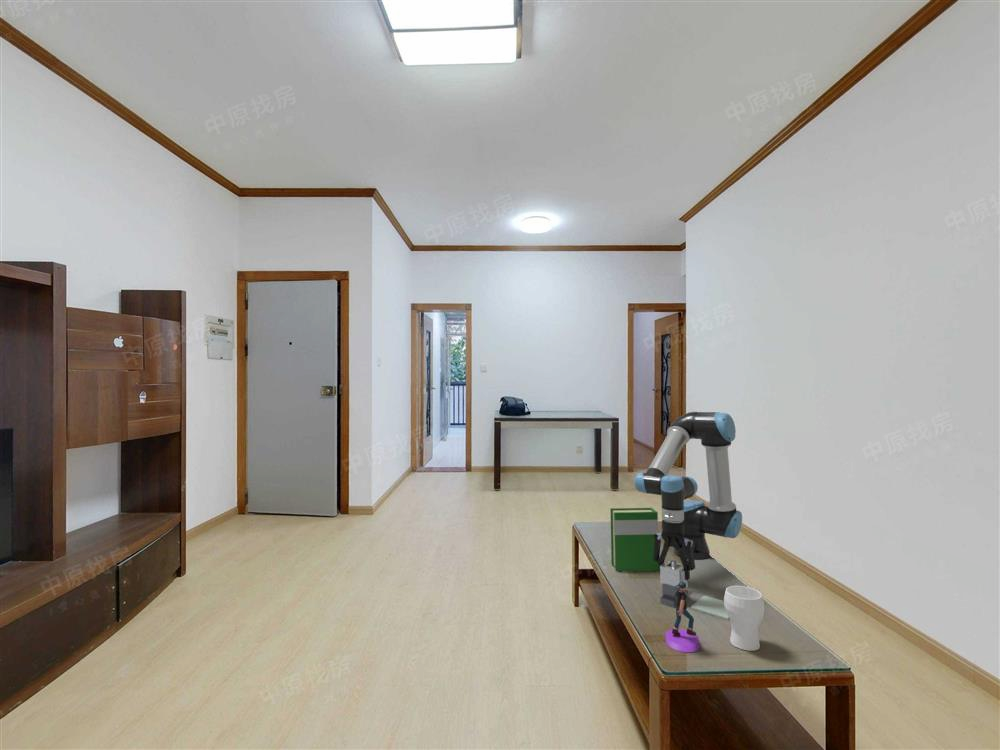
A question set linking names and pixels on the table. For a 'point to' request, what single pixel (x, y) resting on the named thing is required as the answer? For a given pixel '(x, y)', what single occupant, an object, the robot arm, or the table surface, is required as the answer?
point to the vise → (670, 591)
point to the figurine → (679, 637)
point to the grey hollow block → (671, 574)
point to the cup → (744, 616)
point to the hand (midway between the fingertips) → (674, 585)
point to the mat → (711, 607)
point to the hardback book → (633, 539)
